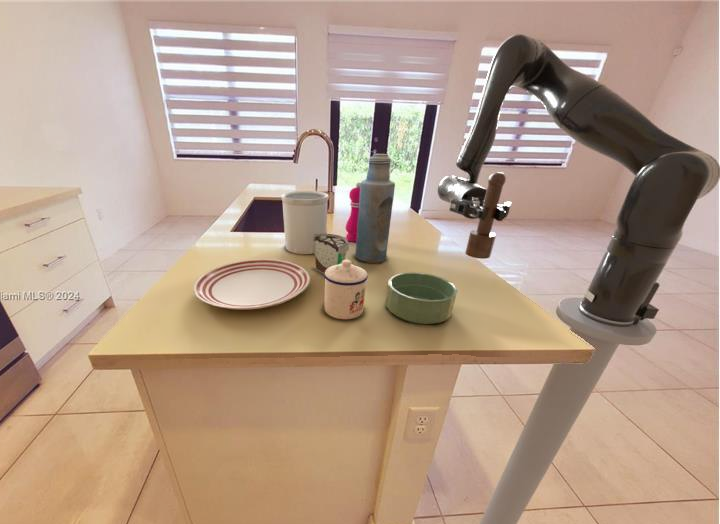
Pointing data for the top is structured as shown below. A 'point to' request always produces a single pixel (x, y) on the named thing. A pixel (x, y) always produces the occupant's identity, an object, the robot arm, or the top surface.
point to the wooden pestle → (486, 220)
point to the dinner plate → (251, 284)
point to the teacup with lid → (344, 290)
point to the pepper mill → (353, 214)
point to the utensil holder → (304, 219)
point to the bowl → (420, 297)
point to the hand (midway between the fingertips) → (492, 215)
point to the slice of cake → (329, 250)
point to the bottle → (375, 210)
